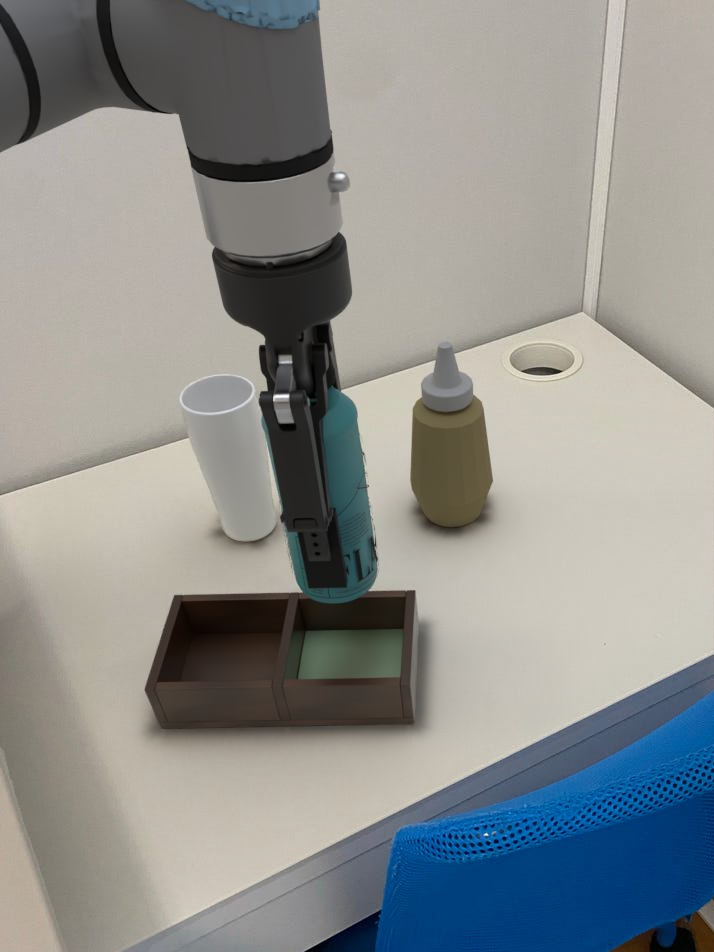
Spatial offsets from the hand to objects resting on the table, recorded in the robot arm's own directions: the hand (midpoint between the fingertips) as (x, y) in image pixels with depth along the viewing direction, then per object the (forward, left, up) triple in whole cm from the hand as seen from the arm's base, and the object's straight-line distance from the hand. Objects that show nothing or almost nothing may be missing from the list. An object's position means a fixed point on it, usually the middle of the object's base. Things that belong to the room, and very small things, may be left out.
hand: (333, 552), depth 69 cm
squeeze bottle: (+8, +22, -14) cm, 27 cm away
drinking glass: (-12, +20, -14) cm, 27 cm away
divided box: (-5, 0, -14) cm, 15 cm away
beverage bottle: (0, 0, -4) cm, 4 cm away
